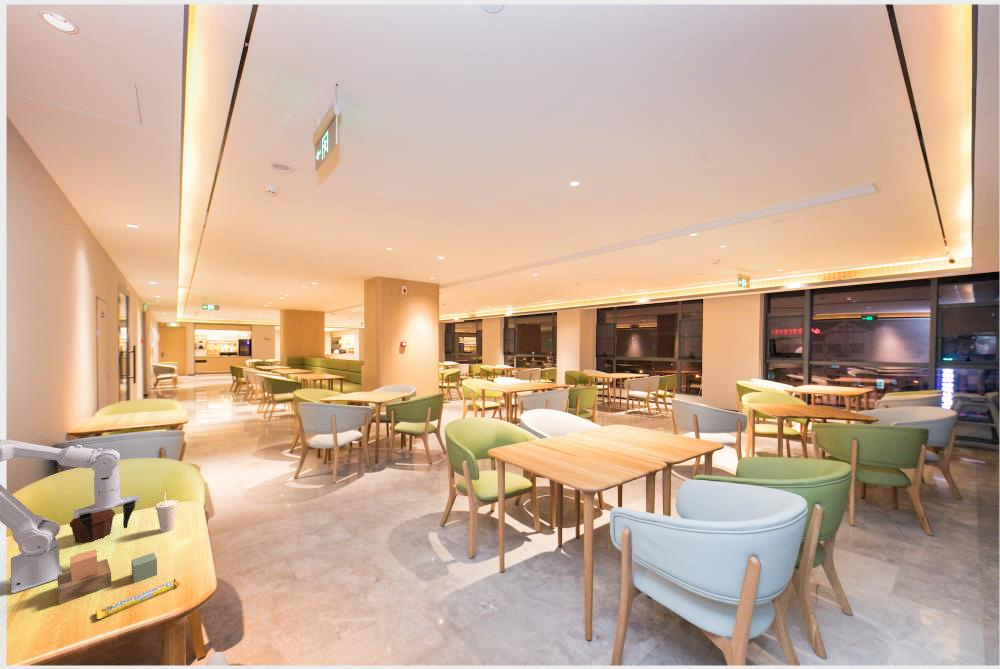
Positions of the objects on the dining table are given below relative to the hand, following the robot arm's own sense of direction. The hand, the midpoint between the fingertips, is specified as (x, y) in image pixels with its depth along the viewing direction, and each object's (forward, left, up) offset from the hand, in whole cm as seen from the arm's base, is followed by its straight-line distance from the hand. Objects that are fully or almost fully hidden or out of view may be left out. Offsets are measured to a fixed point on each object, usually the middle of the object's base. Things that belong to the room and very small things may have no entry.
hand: (108, 531), depth 125 cm
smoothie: (+16, +11, -10) cm, 22 cm away
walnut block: (-6, -12, -9) cm, 16 cm away
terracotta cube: (-6, -12, -5) cm, 15 cm away
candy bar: (+3, -31, -10) cm, 33 cm away
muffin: (-2, +25, -10) cm, 27 cm away
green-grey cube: (+6, -18, -10) cm, 21 cm away
